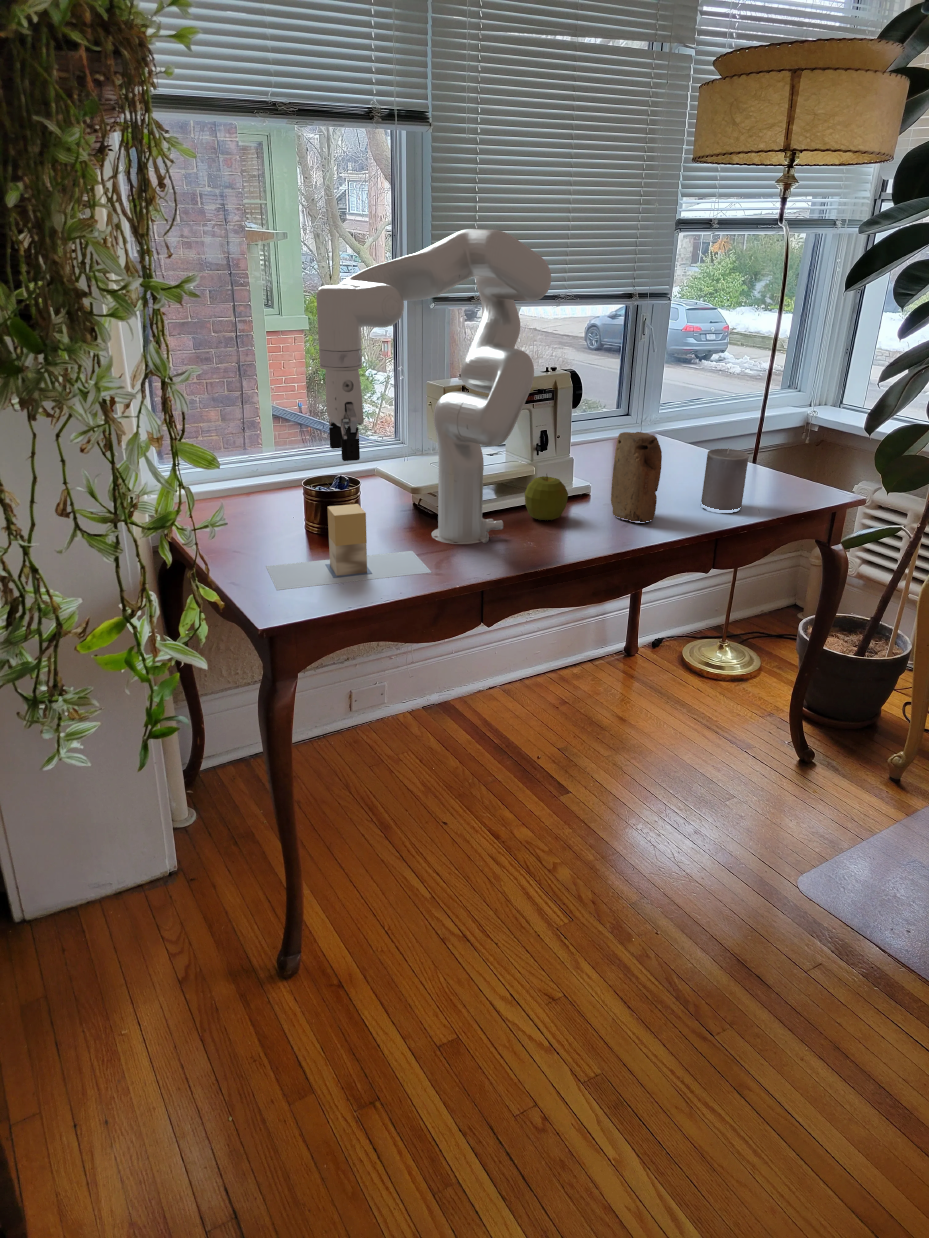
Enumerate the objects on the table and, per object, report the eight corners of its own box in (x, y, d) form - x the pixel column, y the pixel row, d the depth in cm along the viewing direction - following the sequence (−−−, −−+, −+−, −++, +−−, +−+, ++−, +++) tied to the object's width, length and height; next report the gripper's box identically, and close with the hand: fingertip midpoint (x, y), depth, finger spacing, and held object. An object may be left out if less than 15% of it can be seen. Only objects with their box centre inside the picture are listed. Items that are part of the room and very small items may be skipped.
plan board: (412, 556, 191) (412, 550, 191) (431, 578, 180) (431, 571, 179) (266, 571, 182) (265, 565, 181) (277, 596, 170) (276, 589, 170)
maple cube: (359, 562, 184) (358, 533, 181) (367, 572, 179) (366, 543, 176) (330, 565, 182) (328, 536, 179) (336, 575, 177) (335, 546, 174)
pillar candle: (699, 501, 231) (706, 442, 225) (739, 503, 230) (747, 444, 223) (702, 513, 222) (709, 452, 216) (743, 515, 221) (752, 454, 215)
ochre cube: (358, 533, 181) (357, 503, 179) (366, 542, 176) (365, 512, 174) (328, 536, 179) (327, 506, 177) (335, 546, 174) (334, 515, 172)
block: (606, 514, 220) (613, 431, 212) (631, 510, 223) (639, 428, 215) (634, 527, 211) (642, 440, 203) (660, 523, 214) (669, 437, 206)
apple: (529, 526, 211) (531, 479, 206) (519, 513, 219) (521, 468, 215) (571, 524, 212) (574, 478, 208) (559, 512, 221) (562, 467, 216)
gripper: (373, 365, 158) (376, 463, 165) (349, 351, 173) (353, 442, 180) (330, 367, 155) (335, 467, 162) (310, 353, 170) (315, 444, 177)
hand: (344, 454), depth 171 cm, fingers open, 9 cm apart
